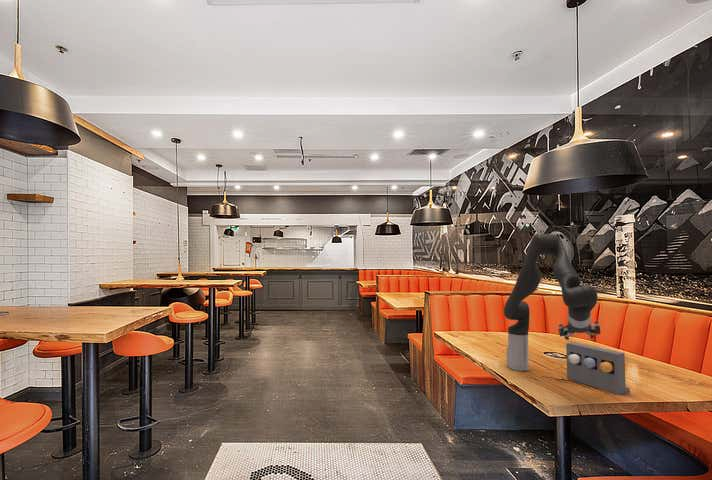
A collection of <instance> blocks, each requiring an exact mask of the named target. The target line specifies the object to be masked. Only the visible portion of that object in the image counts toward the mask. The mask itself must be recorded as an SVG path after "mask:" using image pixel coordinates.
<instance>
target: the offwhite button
mask: <svg viewBox="0 0 712 480" xmlns="http://www.w3.org/2000/svg"><path fill="white" fill-rule="evenodd" d="M569 361H570V362H571V363H573V364H576V363H580V362H581V356H580V355H579V354H571V355H569Z"/></svg>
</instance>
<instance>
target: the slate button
mask: <svg viewBox="0 0 712 480" xmlns="http://www.w3.org/2000/svg"><path fill="white" fill-rule="evenodd" d="M584 365H585V366H586V367H588V368H593V367H596V366H597V361H596V359H594V358H592V357H590V358H586V359H584Z"/></svg>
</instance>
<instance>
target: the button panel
mask: <svg viewBox="0 0 712 480" xmlns="http://www.w3.org/2000/svg"><path fill="white" fill-rule="evenodd" d="M565 347H566V348H565V349H566V379H568V380H570V381H573V382H577V383H580V384H584V385H586V386H589V387H593V388H594V389H595V388H596V389H599V390H602V391H606V392H609V393H612V394H616V395H618V396H620V395H623V394H626V393H630V392H631V390H630V388H631V387H628V386H626V364H625V363H626V361H625V357H626V355H625V353H624V352H620V351H616V350H611V349H606V348H603V347H597V346H594V345H590V344H589V345H588V344H585V343H580V342H579V343H578V342H574V341H571V342H566V343H565ZM571 354H579V355H580V356H581V362H580V363H576V364H573V363H571V362H570V361H569V355H571ZM590 357H592V358H594V359H596V361H597V366H596V367H593V368H588V367H586V366H585V365H584V359H586V358H590ZM607 361H609V362H611V363H612V364H613V365H614V370H613V371H611V372H607V373H606V372H603V371H602V370H601V369H600V364H601V363H602V362H607Z"/></svg>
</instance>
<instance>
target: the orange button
mask: <svg viewBox="0 0 712 480" xmlns="http://www.w3.org/2000/svg"><path fill="white" fill-rule="evenodd" d="M600 369H601V370H602V371H603V372H606V373H607V372H611V371H613V370H614V365H613V364H612V363H611V362H609V361H607V362H602V363H601V364H600Z"/></svg>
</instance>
